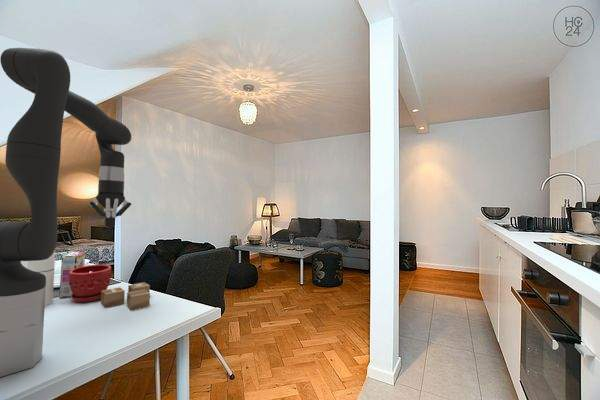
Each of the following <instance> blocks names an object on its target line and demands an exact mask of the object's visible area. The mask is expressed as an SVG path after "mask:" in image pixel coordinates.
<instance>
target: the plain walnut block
mask: <svg viewBox="0 0 600 400" xmlns="http://www.w3.org/2000/svg"><path fill="white" fill-rule="evenodd" d="M150 301H151V293H150V292H148V291H147V290H145V289H144V290H139V291H133V292H126V307H127V309H129V310H130V311H131V310H132V311H135V309H136V310H140V309H139V308H141V309H145V308H148V306H149V307H150V305H151V304H150V303H151V302H150ZM144 307H145V308H144Z"/></svg>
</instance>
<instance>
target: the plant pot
mask: <svg viewBox="0 0 600 400" xmlns="http://www.w3.org/2000/svg"><path fill="white" fill-rule="evenodd" d="M111 278H112V266H111V265H108V264H89V265H84V266H83V267H78V268H75V269H72V270H70V271H69V285H70V289H71V291H72V293H73V295H72V296H71V297H70V298H71V299H72V300H73V301H74V302H75V303H76V302H78V303H87V302H93V301H97V300H101V291H102V290H107V289H108V287H109V286H110V283H111ZM77 281H78V282H77Z"/></svg>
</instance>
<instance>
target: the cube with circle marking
mask: <svg viewBox="0 0 600 400" xmlns="http://www.w3.org/2000/svg"><path fill="white" fill-rule="evenodd" d="M127 286H128V287H127V289H128V290H127V291H128V292H133V291H139V290H144V289H145V290H147V291H148V292H149V293H150V292H151V291H150V288H151V285H150V284H148V283H146V282H145V281H143V282H139V283H134V284H133V283H132V284H128V285H127ZM128 292H127V293H128Z"/></svg>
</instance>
